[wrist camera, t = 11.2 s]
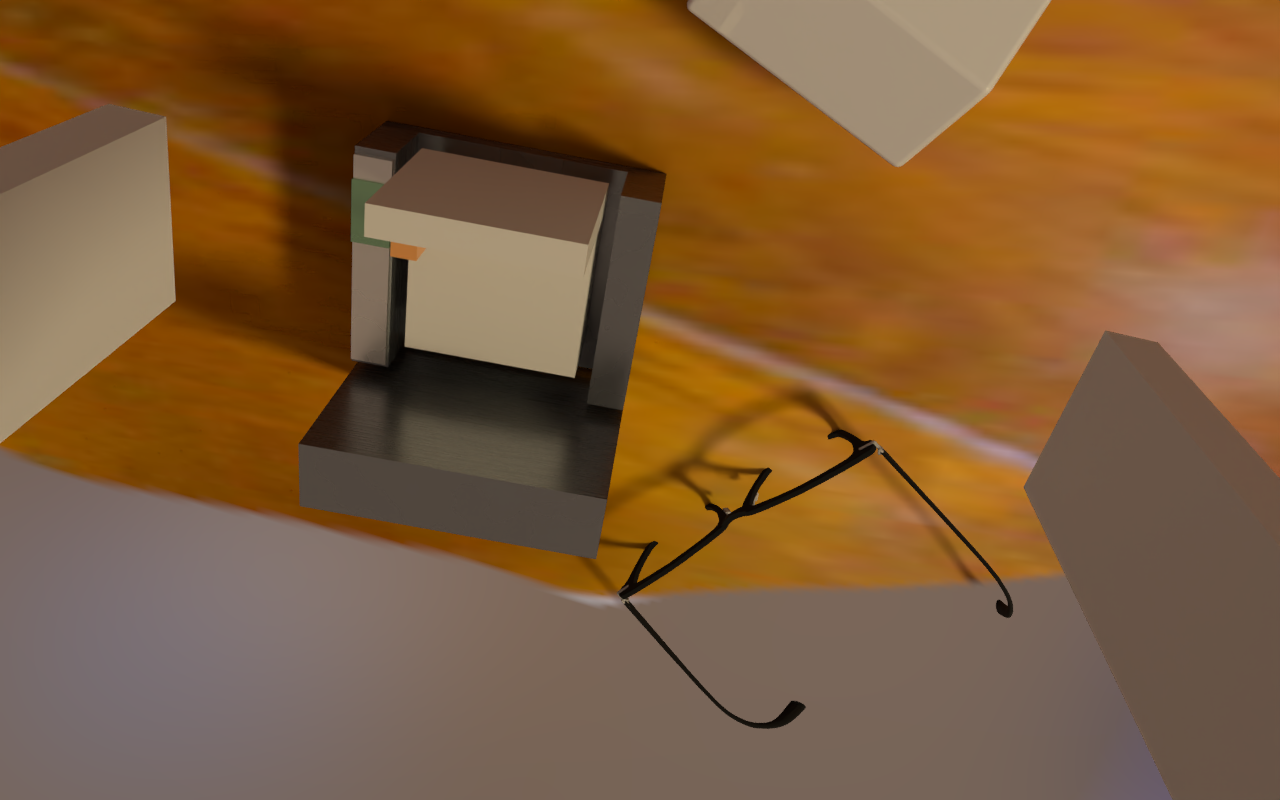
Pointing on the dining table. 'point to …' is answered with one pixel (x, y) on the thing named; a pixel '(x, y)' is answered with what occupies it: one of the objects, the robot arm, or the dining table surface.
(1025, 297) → the dining table surface
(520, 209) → the beige angular block
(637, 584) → the eyeglasses
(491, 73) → the dining table surface
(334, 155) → the dining table surface
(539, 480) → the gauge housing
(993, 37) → the jar
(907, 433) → the dining table surface
